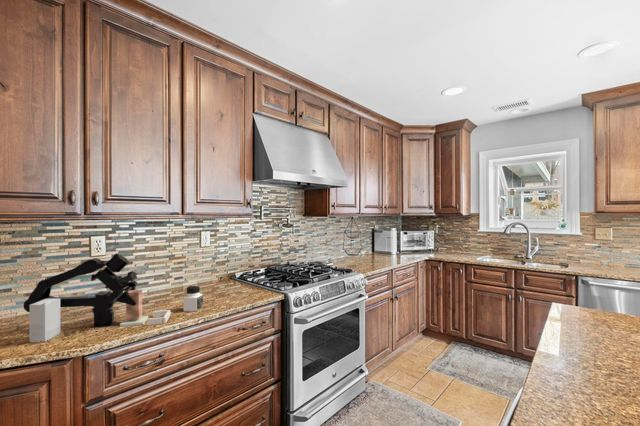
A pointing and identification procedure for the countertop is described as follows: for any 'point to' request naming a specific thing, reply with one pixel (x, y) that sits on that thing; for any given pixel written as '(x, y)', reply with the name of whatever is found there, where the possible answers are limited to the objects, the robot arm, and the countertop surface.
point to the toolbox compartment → (159, 320)
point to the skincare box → (44, 320)
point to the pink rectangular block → (136, 310)
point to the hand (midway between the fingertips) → (137, 303)
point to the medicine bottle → (193, 299)
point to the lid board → (134, 321)
